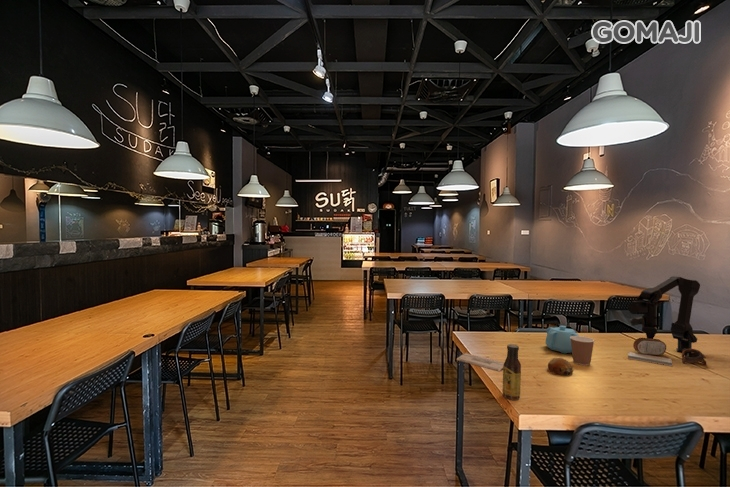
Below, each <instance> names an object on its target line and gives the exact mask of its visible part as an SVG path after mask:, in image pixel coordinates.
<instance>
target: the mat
mask: <svg viewBox="0 0 730 487" xmlns="http://www.w3.org/2000/svg"><path fill="white" fill-rule="evenodd" d="M627 359H628V360H635V361H640V362H647V363H651V362H652V364H657V363H658V364H657V365H663V364H664V366H668V367H669V366H670V367H673V362H672V358H667V357H661V356H657V355H647V354H641V353H639V352H637V353H636V352H632V351H629V352H628V356H627Z"/></svg>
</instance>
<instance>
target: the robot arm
mask: <svg viewBox="0 0 730 487" xmlns="http://www.w3.org/2000/svg"><path fill="white" fill-rule="evenodd" d="M676 287H678V289H677V290H678V291H679V294H680V302H679V307H678V312H677V318H676V321H675V322H672V323H671V327H670V333H671V336H672V339H673V340H674V339H675V340H677V347H676V349H675V350H676V352H679V353H682V349H684V348H686V349H693V345H692V344H696V343H697V341H698V337H697V336H696V335H695V334H694V333H693V330H694V329H693V327H692V325H691V323H690V322H691V321H690V320H691V316H692V309H693V302H694V297H695V296H696V295H698V293H699V291H700V289H701V283H699V281H698V280H696V279H688V278H685V277H681V276H676V275H673V276H669V278H668V279H666V280H664V281H663V282H661V283H659V284H658V285H656V286H654V287H649V288H646V289H643V290H642V291H641V292H640V294H639V295H638V296H637V298H636V300H633V301H631V303H630V304H629V305H628V311H629V313H631V314H632V315H642V316H640V317H639V316H638V317H634V318H633V317H632V318H629V323H630V324H631V327H633V326H637V325H642V326H641V332H644V333H645V336H646V338H652V339H655V336H656V335H657V334H658V328H657V327H658V324H657V314H658V312H657V310H658V309H657V308H658V307H659V306H661V304H660V303H659V302H658V301H660V300H661V299H662V298H663V295H664V294H666V293H667V292H669V291H671V290H672V289H674V288H676ZM691 353H693V352H691Z"/></svg>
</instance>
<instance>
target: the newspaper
mask: <svg viewBox="0 0 730 487" xmlns="http://www.w3.org/2000/svg"><path fill="white" fill-rule="evenodd" d="M456 361H459V362H462V363H467V364H470V365H474V366H478V367H481V368H485V369H488V370H492V371H496V372H499V373H500V372H501V370H503V365H504V362H503V361H498V360H494V359H491V358H486V357H482V356H479V355H474V354H471V353H466V352H465V353H463V354H461V355H459V356H458V357H457V358H456Z"/></svg>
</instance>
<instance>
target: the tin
mask: <svg viewBox="0 0 730 487" xmlns="http://www.w3.org/2000/svg"><path fill="white" fill-rule="evenodd" d="M632 347H633V349H634V351H635V352H637V353H638V354H644V355H650V356H661V355H664V354H665V353H666V351H667V344H666V343H665V342H664V341H662V340H661V339H660V338H659V339H658V338H653V339H652V338H647V337H639V338H636V339H635V340H634V341H633V346H632Z"/></svg>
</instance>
